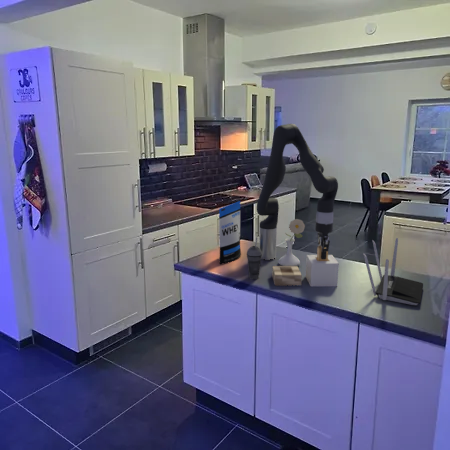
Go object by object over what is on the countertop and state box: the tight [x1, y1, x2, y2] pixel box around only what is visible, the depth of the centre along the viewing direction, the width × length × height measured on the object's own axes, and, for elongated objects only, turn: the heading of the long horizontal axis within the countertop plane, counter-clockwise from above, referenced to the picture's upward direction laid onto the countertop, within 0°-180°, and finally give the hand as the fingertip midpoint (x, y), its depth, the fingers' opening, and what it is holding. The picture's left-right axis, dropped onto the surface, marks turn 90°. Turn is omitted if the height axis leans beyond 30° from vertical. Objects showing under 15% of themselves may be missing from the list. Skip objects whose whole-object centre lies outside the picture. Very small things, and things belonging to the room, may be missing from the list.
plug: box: [316, 245, 329, 261], centre depth 180 cm, size 4×4×10 cm
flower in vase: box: [277, 218, 306, 267], centre depth 202 cm, size 13×11×25 cm
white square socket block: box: [305, 254, 340, 287], centre depth 182 cm, size 12×12×11 cm
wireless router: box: [362, 237, 424, 306], centre depth 169 cm, size 34×23×20 cm
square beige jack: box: [271, 265, 303, 287], centre depth 184 cm, size 12×12×5 cm
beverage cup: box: [246, 237, 262, 280], centre depth 187 cm, size 7×7×20 cm
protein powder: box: [218, 200, 242, 265], centre depth 213 cm, size 10×24×30 cm, turn 152°
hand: (322, 257), depth 181 cm, fingers closed on plug, 4 cm apart
